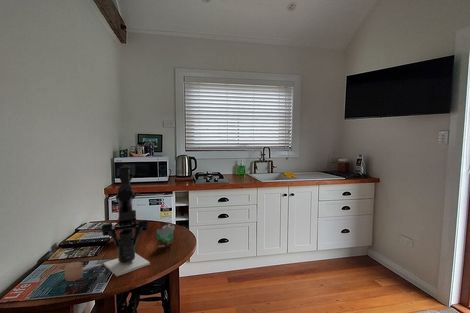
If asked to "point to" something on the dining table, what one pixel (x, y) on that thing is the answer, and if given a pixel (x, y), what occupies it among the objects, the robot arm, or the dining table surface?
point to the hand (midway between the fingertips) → (126, 245)
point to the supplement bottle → (126, 247)
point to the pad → (126, 265)
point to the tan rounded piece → (73, 271)
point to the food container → (165, 235)
